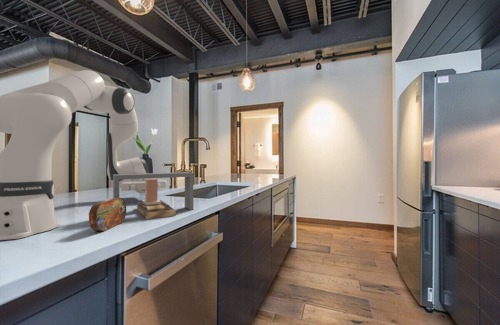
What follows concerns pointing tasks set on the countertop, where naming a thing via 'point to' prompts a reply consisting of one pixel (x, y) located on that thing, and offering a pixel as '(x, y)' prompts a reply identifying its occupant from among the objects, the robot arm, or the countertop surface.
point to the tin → (107, 214)
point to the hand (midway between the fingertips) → (147, 186)
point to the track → (156, 210)
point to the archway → (187, 176)
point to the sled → (151, 192)
